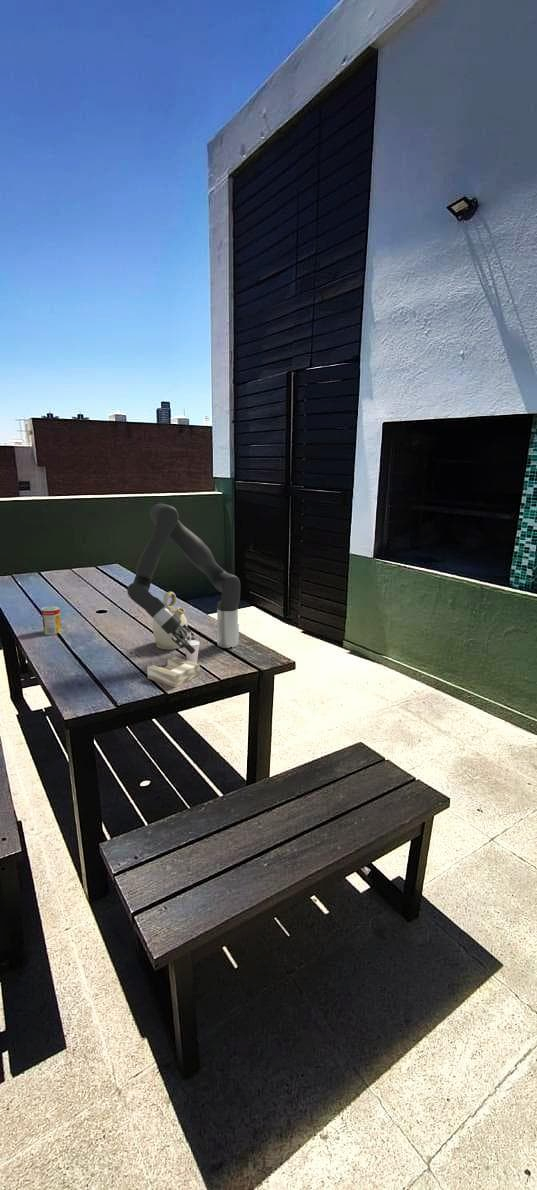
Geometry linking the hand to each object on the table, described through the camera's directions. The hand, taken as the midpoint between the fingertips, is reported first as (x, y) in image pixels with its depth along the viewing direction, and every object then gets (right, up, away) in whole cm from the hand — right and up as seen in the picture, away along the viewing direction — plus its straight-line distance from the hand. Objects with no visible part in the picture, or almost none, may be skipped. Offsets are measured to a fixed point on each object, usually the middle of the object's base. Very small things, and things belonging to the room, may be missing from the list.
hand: (195, 649), depth 198 cm
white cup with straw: (-2, -7, +2) cm, 7 cm away
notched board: (-7, -10, -10) cm, 15 cm away
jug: (-15, -1, +23) cm, 28 cm away
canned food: (-74, +4, +36) cm, 82 cm away
